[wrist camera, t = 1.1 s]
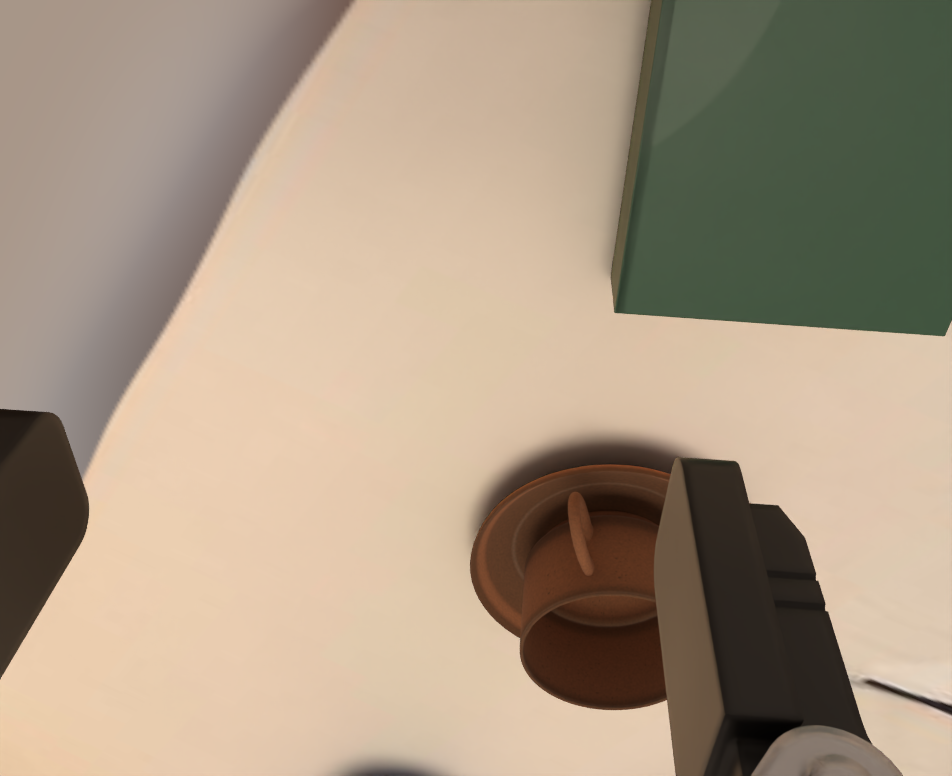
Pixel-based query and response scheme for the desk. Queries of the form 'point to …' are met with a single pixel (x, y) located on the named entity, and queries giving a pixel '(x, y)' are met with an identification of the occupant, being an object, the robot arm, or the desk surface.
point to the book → (792, 165)
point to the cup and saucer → (579, 582)
